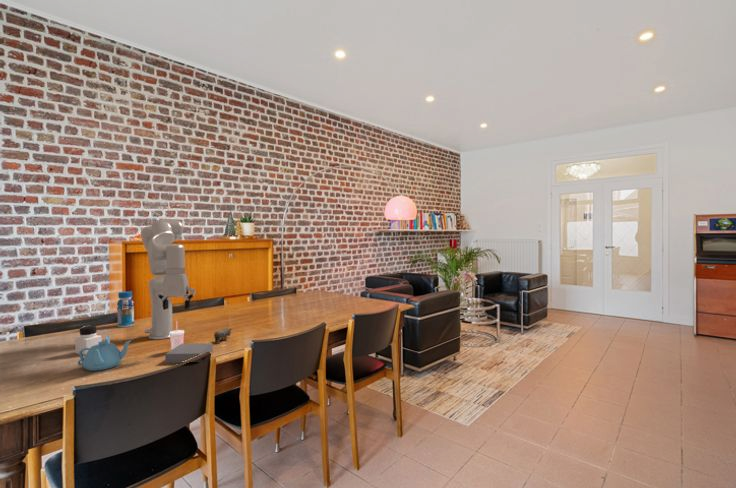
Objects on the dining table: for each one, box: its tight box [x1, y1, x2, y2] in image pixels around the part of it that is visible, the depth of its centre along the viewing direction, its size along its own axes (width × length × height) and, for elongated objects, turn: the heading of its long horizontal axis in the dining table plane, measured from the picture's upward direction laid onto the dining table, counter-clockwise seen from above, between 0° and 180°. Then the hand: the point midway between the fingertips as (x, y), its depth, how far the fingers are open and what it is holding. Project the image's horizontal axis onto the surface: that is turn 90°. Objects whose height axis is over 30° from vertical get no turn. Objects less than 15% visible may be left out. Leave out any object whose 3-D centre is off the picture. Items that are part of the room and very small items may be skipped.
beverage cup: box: [169, 320, 185, 351], centre depth 168 cm, size 6×6×14 cm
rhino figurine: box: [213, 327, 233, 345], centre depth 185 cm, size 4×14×6 cm, turn 168°
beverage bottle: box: [116, 290, 135, 328], centre depth 215 cm, size 8×8×20 cm
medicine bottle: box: [74, 324, 103, 356], centre depth 167 cm, size 7×7×12 cm
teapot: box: [77, 335, 133, 372], centre depth 149 cm, size 15×15×10 cm
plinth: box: [164, 342, 214, 364], centre depth 159 cm, size 14×14×4 cm
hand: (176, 308), depth 167 cm, fingers open, 9 cm apart
